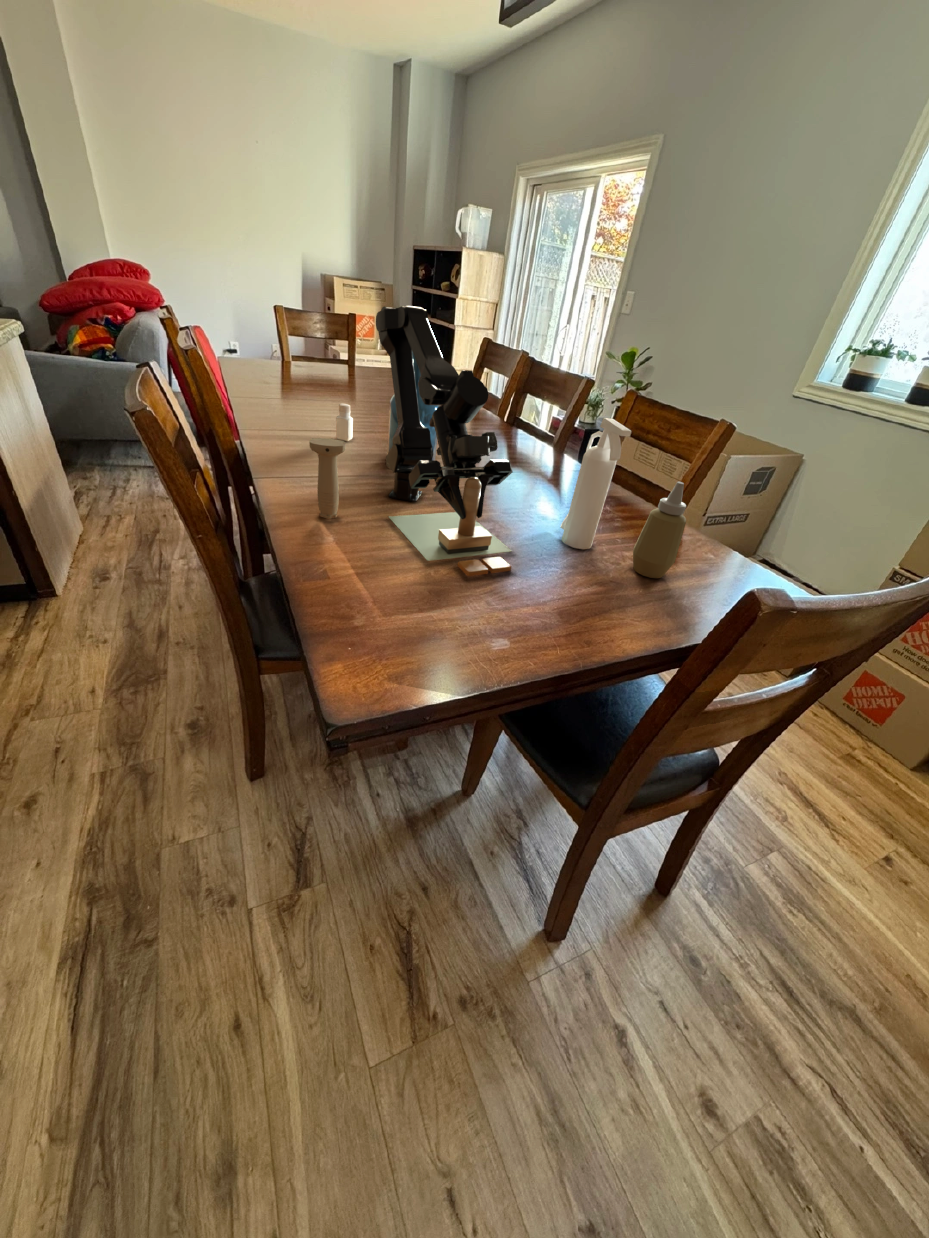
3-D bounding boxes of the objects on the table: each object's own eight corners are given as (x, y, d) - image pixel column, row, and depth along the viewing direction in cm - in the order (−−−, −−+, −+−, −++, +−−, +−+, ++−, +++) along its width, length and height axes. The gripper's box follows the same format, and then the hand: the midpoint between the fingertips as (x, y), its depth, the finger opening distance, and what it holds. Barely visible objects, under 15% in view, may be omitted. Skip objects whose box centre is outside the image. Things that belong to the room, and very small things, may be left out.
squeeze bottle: (663, 586, 96) (699, 494, 86) (622, 571, 99) (652, 481, 89) (672, 572, 102) (707, 484, 92) (633, 558, 105) (663, 472, 95)
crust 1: (456, 569, 91) (458, 561, 90) (476, 566, 92) (477, 559, 92) (467, 580, 88) (468, 571, 87) (487, 577, 90) (488, 569, 89)
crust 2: (480, 566, 93) (481, 558, 92) (498, 564, 95) (500, 556, 94) (491, 576, 90) (492, 568, 89) (510, 574, 92) (511, 566, 91)
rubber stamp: (447, 554, 93) (457, 482, 86) (437, 544, 96) (445, 473, 89) (489, 550, 97) (502, 481, 90) (478, 540, 100) (490, 472, 93)
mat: (387, 520, 105) (387, 516, 104) (464, 514, 113) (465, 511, 112) (426, 564, 91) (427, 560, 90) (511, 555, 99) (512, 551, 98)
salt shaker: (335, 439, 148) (335, 405, 143) (340, 436, 152) (340, 402, 146) (348, 442, 148) (348, 407, 143) (353, 438, 151) (353, 405, 146)
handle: (345, 524, 100) (345, 447, 92) (310, 522, 99) (308, 444, 91) (345, 515, 104) (345, 439, 96) (312, 513, 103) (310, 436, 94)
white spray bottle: (576, 529, 114) (607, 412, 101) (602, 554, 105) (641, 428, 91) (549, 529, 112) (577, 409, 99) (573, 554, 103) (609, 425, 89)
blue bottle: (433, 470, 136) (445, 344, 120) (383, 464, 135) (389, 336, 119) (436, 456, 148) (448, 339, 131) (390, 450, 147) (396, 331, 130)
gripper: (421, 411, 82) (442, 502, 81) (517, 414, 91) (538, 497, 89) (400, 445, 92) (418, 527, 90) (488, 445, 101) (507, 520, 99)
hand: (471, 517), depth 92 cm, fingers closed on rubber stamp, 3 cm apart
